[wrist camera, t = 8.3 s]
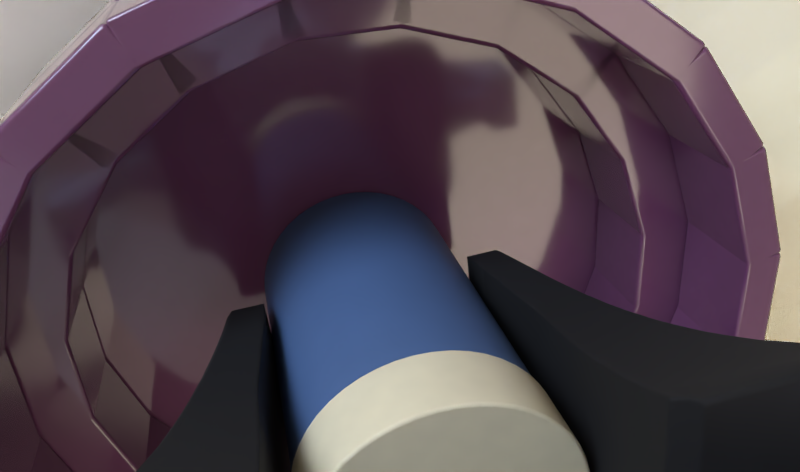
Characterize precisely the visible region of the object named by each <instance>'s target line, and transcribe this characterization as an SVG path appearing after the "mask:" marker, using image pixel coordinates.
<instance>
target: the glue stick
mask: <svg viewBox="0 0 800 472" xmlns="http://www.w3.org/2000/svg"><path fill="white" fill-rule="evenodd" d="M265 294H266V301H267V308H268V315H269V321H270V328H271V334H272V341H273V347H274V354H275V361H276V369H277V376H278V383H279V390H280V397H281V404H282V411H283V418H284V425H285V431H286V438H287V445H288V452H289V459H290V466H291V472H590V469H589V465H588V462H587V458H586V455H585V453H584V451H583V449H582V447H581V445H580V443H579V442H578V440H577V439H576V437H575V436H574V434H573V433H572V431H571V430H570V428H569V427H568V425H567V423H566V422H565V420H564V419H563V417H562V416H561V414H560V413H559V411H558V410H557V408H556V407H555V405H554V404H553V402H552V401H551V399H550V397H549V396H548V394H547V393H546V392H545V390H544V389H543V388H542V386H541V385H540V384H539V383H538V382H537V381H536V380H535V379H534V378H533V377H532V376H531V374H530V373H529V371H528V370H527V368H526V367H525V365H524V363H523V362H522V360H521V359H520V357H519V356H518V354H517V353H516V351H515V349H514V348H513V346H512V345H511V343H510V342H509V340H508V339H507V337H506V336H505V334H504V332H503V331H502V329H501V328H500V326H499V325H498V323H497V322H496V320H495V318H494V317H493V315H492V314H491V312H490V311H489V309H488V308H487V306H486V305H485V303H484V301H483V300H482V298H481V297H480V295H479V294H478V292H477V291H476V289H475V287H474V286H473V284H472V283H471V281H470V280H469V278H468V277H467V275H466V274H465V272H464V270H463V269H462V267H461V266H460V264H459V263H458V261H457V260H456V258H455V256H454V255H453V253H452V252H451V250H450V249H449V247H448V246H447V244H446V243H445V241H444V239H443V238H442V236H441V235H440V233H439V232H438V230H437V229H436V227H435V226H434V224H433V223H432V222H431V220H430V219H429V218H428V217H427V216H426V215H425V214H424V213H423V212H422V211H420V210H419V209H418V208H416V207H415V206H413V205H412V204H410V203H408V202H406V201H404V200H402V199H399V198H397V197H394V196H390V195H386V194H382V193H373V192H355V193H348V194H342V195H339V196H335V197H331V198H329V199H326V200H324V201H322V202H319V203H317V204H315V205H314V206H312V207H310V208H308V209H307V210H305V211H304V212H303V213H301V214H300V215H299V216H297V217H296V218H295V219H294V220H293V221H292V222H291V223H290V224H289V225H288V226H287V227H286V228H285V230H284V231H283V232H282V233H281V234H280V236H279V238H278V239H277V241H276V242H275V244H274V246H273V248H272V250H271V252H270V255H269V258H268V261H267V265H266V270H265Z"/></svg>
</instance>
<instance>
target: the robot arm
mask: <svg viewBox="0 0 800 472" xmlns="http://www.w3.org/2000/svg"><path fill="white" fill-rule="evenodd" d="M467 261H468V272H469V280H470V281H471V283H472V284H473V286H474V287H475V289H476V291H477V292H478V294H479V295H480V297H481V298H482V300H483V301H484V303H485V305H486V306H487V308H488V309H489V311H490V312H491V314H492V315H493V317H494V318H495V320H496V322H497V323H498V325H499V326H500V328H501V329H502V331H503V332H504V334H505V336H506V337H507V339H508V340H509V342H510V343H511V345H512V346H513V348H514V349H515V351H516V353H517V354H518V356H519V357H520V359H521V360H522V362H523V363H524V365H525V367H526V368H527V370H528V371H529V373H530V374H531V376H532V377H533V378H534V379H535V380H536V381H537V382H538V383H539V384H540V385H541V386H542V388H543V389H544V390H545V392H546V393H547V394H548V396H549V397H550V399H551V401H552V402H553V404H554V405H555V407H556V408H557V410H558V411H559V413H560V414H561V416H562V417H563V419H564V420H565V422H566V423H567V425H568V427H569V428H570V430H571V431H572V433H573V434H574V436H575V437H576V439H577V440H578V442H579V443H580V445H581V447H582V449H583V451H584V453H585V455H586V458H587V462H588V465H589V469H590V472H800V343H794V342H781V341H768V340H757V339H750V338H743V337H736V336H729V335H722V334H717V333H711V332H706V331H701V330H696V329H692V328H688V327H683V326H679V325H675V324H670V323H666V322H663V321H659V320H655V319H652V318H649V317H646V316H643V315H640V314H636V313H633V312H630V311H627V310H624V309H621V308H619V307H616V306H613V305H610V304H608V303H605V302H603V301H601V300H598V299H596V298H593V297H591V296H589V295H586V294H584V293H582V292H579V291H577V290H575V289H573V288H571V287H569V286H567V285H564V284H562V283H560V282H558V281H556V280H554V279H552V278H550V277H548V276H546V275H544V274H543V273H541V272H539V271H537V270H535V269H533V268H531V267H529V266H527V265H525V264H524V263H522V262H520V261H518V260H516V259H514V258H512V257H510V256H508V255H506V254H504V253H502V252H500V251H498V250H493V251H489V252H485V253H480V254H476V255H472V256H467ZM136 472H291V466H290V459H289V452H288V445H287V438H286V431H285V425H284V418H283V411H282V404H281V397H280V390H279V383H278V376H277V369H276V361H275V354H274V347H273V341H272V334H271V330H270V326H269V322H268V318H267V314H266V310H265V306H264V304H259V305H255V306H251V307H246V308H242V309H238V310H233V311H232V312H231V313H230V314H229V316H228V317H227V320H226V323H225V326H224V329H223V332H222V335H221V337H220V340H219V342H218V344H217V347H216V349H215V351H214V354H213V356H212V358H211V360H210V362H209V364H208V366H207V368H206V370H205V373H204V375H203V377H202V379H201V380H200V382H199V384H198V386H197V388H196V389H195V391H194V393H193V395H192V396H191V398H190V400H189V402H188V403H187V405H186V407H185V408H184V410H183V412H182V413H181V415H180V416H179V418H178V419H177V421H176V422H175V424H174V425H173V427H172V428H171V430H170V431H169V432H168V434H167V435H166V436H165V438H164V439H163V440H162V442H161V443H160V444H159V446H158V447H157V448H156V449H155V451H154V452H153V453H152V454H151V455H150V456H149V457H148V458H147V460H146V461H145V462H144V463H143V464H142V465H141V466H140V468H139V469H138V470H137V471H136Z"/></svg>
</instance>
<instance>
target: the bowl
mask: <svg viewBox="0 0 800 472" xmlns="http://www.w3.org/2000/svg"><path fill="white" fill-rule="evenodd" d="M355 192H373V193H382V194H386V195H390V196H394V197H397V198H399V199H402V200H404V201H406V202H408V203H410V204H412V205H413V206H415V207H416V208H418V209H419V210H420V211H422V212H423V213H424V214H425V215H426V216H427V217H428V218H429V219H430V220H431V222H432V223H433V224H434V226H435V227H436V229H437V230H438V232H439V233H440V235H441V236H442V238H443V239H444V241H445V243H446V244H447V246H448V247H449V249H450V250H451V252H452V253H453V255H454V256H455V258H456V260H457V261H458V263H459V264H460V266H461V267H462V269H463V270H464V272H465V274H466V275H467V277H468V278H469V272H468V261H467V256H472V255H476V254H480V253H485V252H489V251H493V250H498V251H500V252H502V253H504V254H506V255H508V256H510V257H512V258H514V259H516V260H518V261H520V262H522V263H524V264H525V265H527V266H529V267H531V268H533V269H535V270H537V271H539V272H541V273H543V274H544V275H546V276H548V277H550V278H552V279H554V280H556V281H558V282H560V283H562V284H564V285H567V286H569V287H571V288H573V289H575V290H577V291H579V292H582V293H584V294H586V295H589V296H591V297H593V298H596V299H598V300H601V301H603V302H605V303H608V304H610V305H613V306H616V307H619V308H621V309H624V310H627V311H630V312H633V313H636V314H640V315H643V316H646V317H649V318H652V319H655V320H659V321H663V322H666V323H670V324H675V325H679V326H683V327H688V328H692V329H696V330H701V331H706V332H711V333H717V334H722V335H729V336H736V337H743V338H750V339H757V340H765V335H766V330H767V324H768V319H769V314H770V309H771V303H772V298H773V293H774V287H775V282H776V277H777V272H778V266H779V261H780V253H779V252H780V250H781V249H780V242H779V236H778V229H777V222H776V215H775V209H774V202H773V195H772V188H771V182H770V175H769V168H768V161H767V155H766V150H765V148H764V147H763V142H762V140H761V139H760V137H759V135H758V134H757V132H756V130H755V128H754V127H753V125H752V123H751V122H750V120H749V118H748V116H747V115H746V113H745V111H744V110H743V108H742V106H741V105H740V103H739V101H738V99H737V98H736V96H735V94H734V93H733V91H732V89H731V87H730V86H729V84H728V82H727V81H726V79H725V77H724V76H723V74H722V72H721V70H720V69H719V67H718V65H717V64H716V62H715V60H714V58H713V57H712V55H711V53H710V52H709V50H708V48H707V47H705V44H704V43H703V41H701V40H700V39H699V38H697V37H696V36H695V35H693V34H692V33H691V32H689V31H688V30H687V29H685V28H684V27H683V26H681V25H680V24H679V23H677V22H676V21H675V20H673V19H672V18H671V17H669V16H668V15H666V14H665V13H664V12H662V11H661V10H660V9H658V8H657V7H656V6H654V5H653V4H652V3H650V2H649V1H648V0H110V1H109V2H108V3H107V4H106V5H105V6H104V7H103V8H102V9H101V10H100V11H99V12H98V13H97V14H96V15H95V16H94V17H93V18H92V19H91V20H90V21H89V22H88V23H87V24H86V25H85V26H84V27H83V28H82V29H81V30H80V31H79V32H78V33H77V34H76V35H75V36H74V37H73V38H72V39H71V40H70V41H69V42H68V43H67V44H66V45H65V46H64V47H63V48H62V49H61V50H60V51H59V52H58V53H57V54H56V55H55V56H54V57H53V58H52V59H51V60H50V61H49V62H48V63H47V64H46V65H45V66H44V67H43V68H42V69H41V70H40V72H39V73H38V74H37V75H36V77H35V78H34V79H33V80H32V82H31V83H30V84H29V85H28V87H27V88H26V89H25V90H24V92H23V93H22V94H21V95H20V97H19V98H18V100H17V101H16V102H15V103H14V104H13V105H12V107H11V108H10V109H9V110H8V112H7V113H6V114H5V115H4V117H3V118H2V119H1V120H0V472H136V471H137V470H138V469H139V468H140V466H141V465H142V464H143V463H144V462H145V461H146V460H147V458H148V457H149V456H150V455H151V454H152V453H153V452H154V451H155V449H156V448H157V447H158V446H159V444H160V443H161V442H162V440H163V439H164V438H165V436H166V435H167V434H168V432H169V431H170V430H171V428H172V427H173V425H174V424H175V422H176V421H177V419H178V418H179V416H180V415H181V413H182V412H183V410H184V408H185V407H186V405H187V403H188V402H189V400H190V398H191V396H192V395H193V393H194V391H195V389H196V388H197V386H198V384H199V382H200V380H201V379H202V377H203V375H204V373H205V370H206V368H207V366H208V364H209V362H210V360H211V358H212V356H213V354H214V351H215V349H216V347H217V344H218V342H219V340H220V337H221V335H222V332H223V329H224V326H225V323H226V320H227V317H228V316H229V314H230V313H231V312H232V311H233V310H238V309H242V308H246V307H251V306H255V305H259V304H264V306H265V310H266V314H267V318H268V322H269V326H270V321H269V315H268V308H267V301H266V294H265V270H266V265H267V261H268V258H269V255H270V252H271V250H272V248H273V246H274V244H275V242H276V241H277V239H278V238H279V236H280V234H281V233H282V232H283V231H284V230H285V228H286V227H287V226H288V225H289V224H290V223H291V222H292V221H293V220H294V219H295V218H296V217H297V216H299V215H300V214H301V213H303V212H304V211H305V210H307V209H308V208H310V207H312V206H314V205H315V204H317V203H319V202H322V201H324V200H326V199H329V198H331V197H335V196H339V195H342V194H348V193H355ZM270 330H271V328H270Z"/></svg>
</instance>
